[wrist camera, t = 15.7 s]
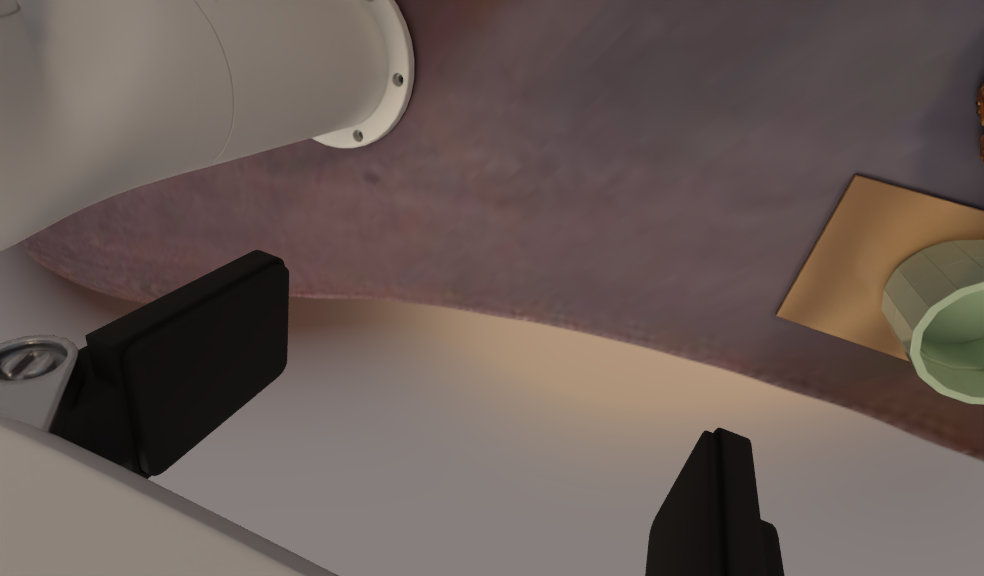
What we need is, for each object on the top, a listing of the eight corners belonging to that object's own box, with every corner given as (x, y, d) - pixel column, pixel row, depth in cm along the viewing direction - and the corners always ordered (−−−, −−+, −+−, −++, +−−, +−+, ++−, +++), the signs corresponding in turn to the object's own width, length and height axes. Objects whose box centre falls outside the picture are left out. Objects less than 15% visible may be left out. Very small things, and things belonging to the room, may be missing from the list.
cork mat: (775, 313, 36) (775, 316, 36) (854, 173, 32) (856, 175, 31) (1039, 403, 33) (1043, 407, 33) (1173, 263, 28) (1179, 266, 28)
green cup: (855, 322, 35) (881, 373, 29) (923, 220, 31) (966, 257, 26) (980, 364, 33) (1030, 425, 28) (1067, 261, 30) (1142, 310, 24)
